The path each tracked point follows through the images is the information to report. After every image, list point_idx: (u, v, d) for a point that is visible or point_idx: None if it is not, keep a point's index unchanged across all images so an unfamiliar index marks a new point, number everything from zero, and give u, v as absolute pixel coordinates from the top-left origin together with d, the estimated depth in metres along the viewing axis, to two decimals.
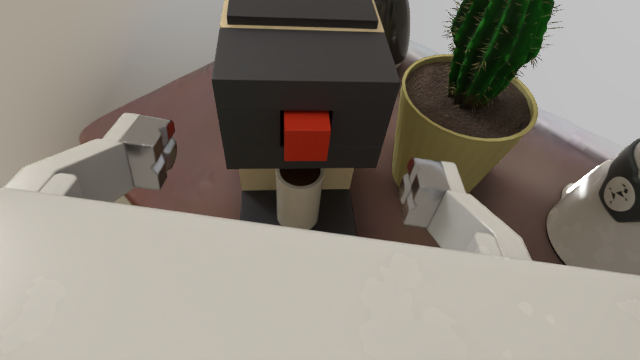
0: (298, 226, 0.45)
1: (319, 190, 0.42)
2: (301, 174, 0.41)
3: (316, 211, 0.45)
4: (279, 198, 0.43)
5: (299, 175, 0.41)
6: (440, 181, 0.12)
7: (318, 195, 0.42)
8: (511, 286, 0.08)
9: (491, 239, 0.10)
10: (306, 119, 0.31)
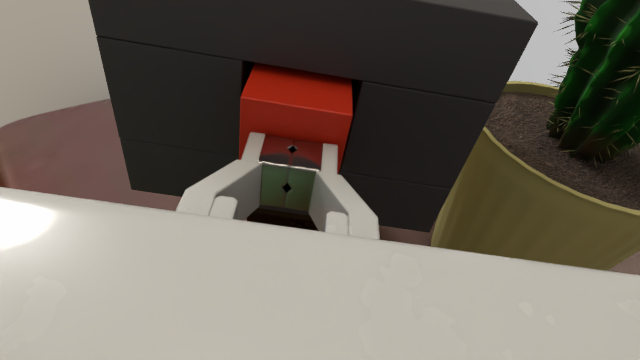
0: None
1: None
2: None
3: None
4: None
5: None
6: (313, 162, 0.12)
7: None
8: (511, 286, 0.08)
9: (343, 217, 0.10)
10: (299, 87, 0.13)
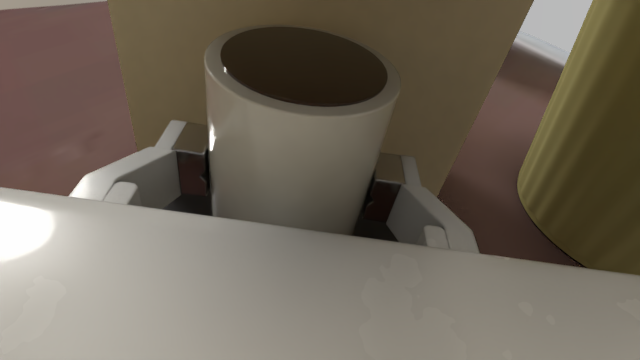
0: None
1: (371, 157, 0.10)
2: (307, 73, 0.10)
3: None
4: (212, 175, 0.11)
5: (299, 75, 0.10)
6: (396, 175, 0.12)
7: (362, 181, 0.11)
8: (511, 286, 0.08)
9: (440, 232, 0.10)
10: None
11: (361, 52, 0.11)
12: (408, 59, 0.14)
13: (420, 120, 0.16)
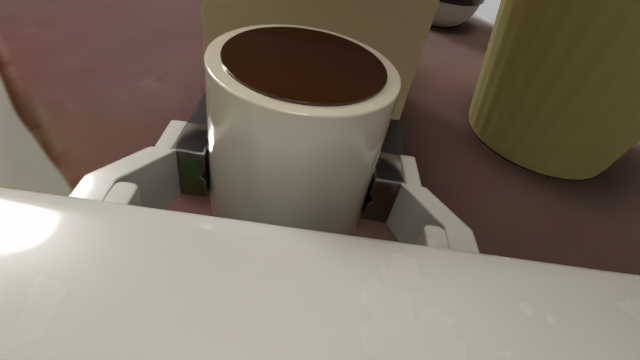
0: None
1: (371, 157, 0.10)
2: (307, 73, 0.10)
3: None
4: (213, 174, 0.11)
5: (299, 74, 0.10)
6: (396, 175, 0.12)
7: (362, 181, 0.11)
8: (511, 286, 0.08)
9: (441, 231, 0.10)
10: None
11: (361, 52, 0.11)
12: (379, 6, 0.23)
13: (389, 48, 0.25)
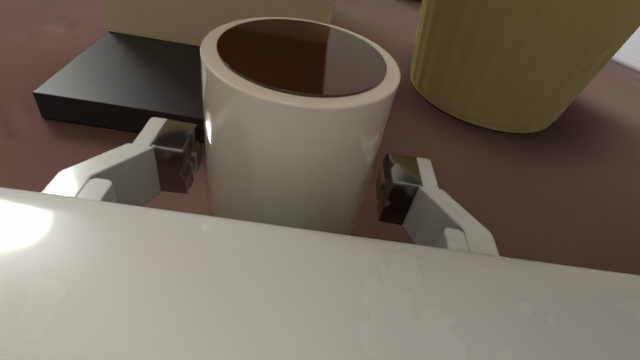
0: None
1: (370, 150, 0.10)
2: (305, 65, 0.10)
3: None
4: None
5: (297, 66, 0.09)
6: (413, 177, 0.12)
7: (361, 175, 0.11)
8: (511, 286, 0.08)
9: (460, 234, 0.10)
10: None
11: (360, 44, 0.11)
12: None
13: None
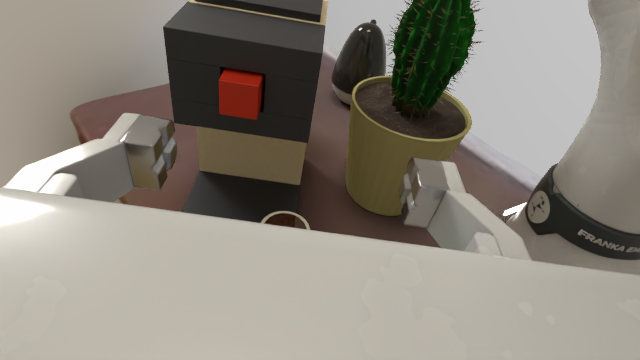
0: None
1: None
2: None
3: None
4: None
5: None
6: (440, 181, 0.12)
7: None
8: (511, 286, 0.08)
9: (492, 239, 0.10)
10: (241, 76, 0.36)
11: (301, 223, 0.40)
12: (280, 138, 0.49)
13: (288, 154, 0.51)
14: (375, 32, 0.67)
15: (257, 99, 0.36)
